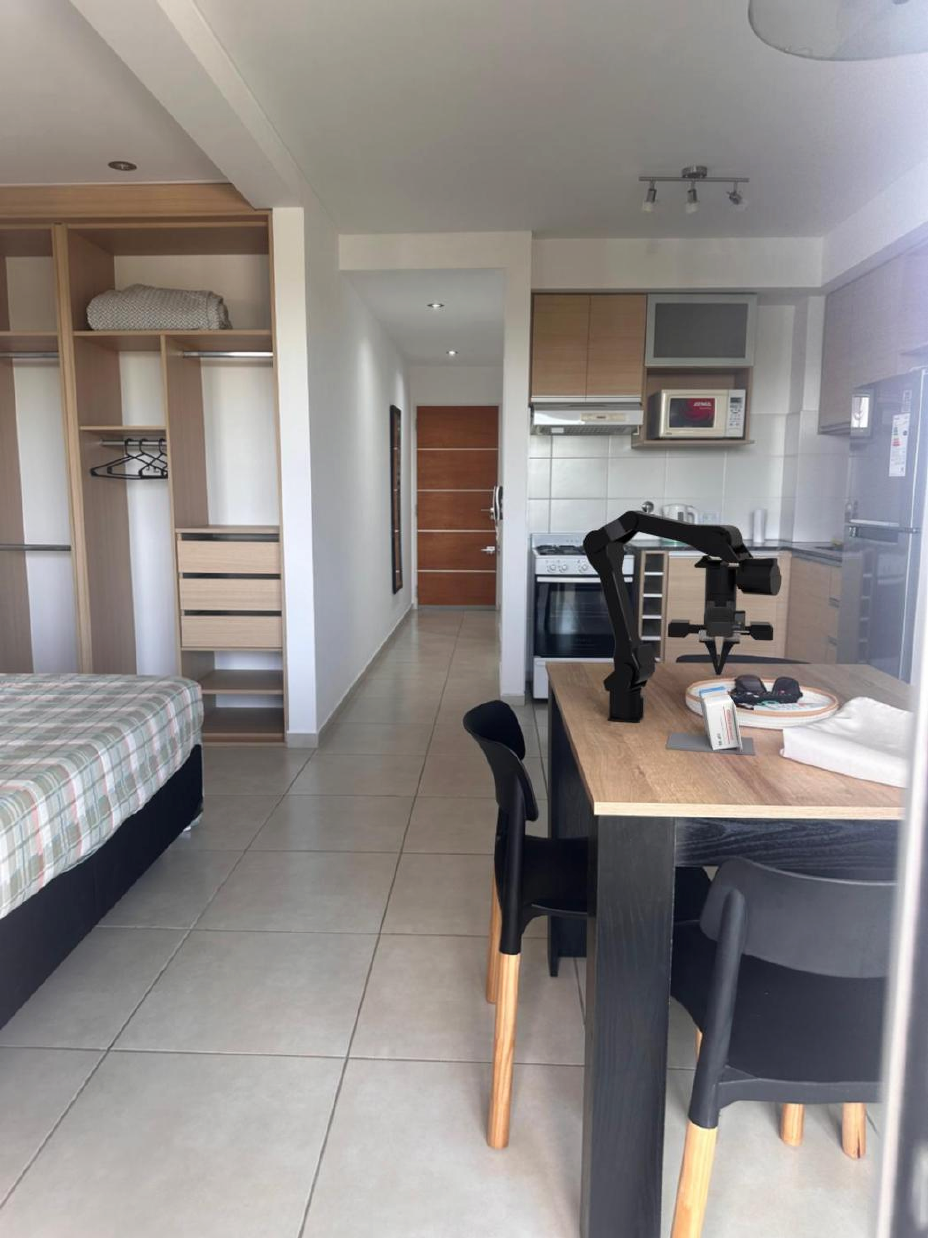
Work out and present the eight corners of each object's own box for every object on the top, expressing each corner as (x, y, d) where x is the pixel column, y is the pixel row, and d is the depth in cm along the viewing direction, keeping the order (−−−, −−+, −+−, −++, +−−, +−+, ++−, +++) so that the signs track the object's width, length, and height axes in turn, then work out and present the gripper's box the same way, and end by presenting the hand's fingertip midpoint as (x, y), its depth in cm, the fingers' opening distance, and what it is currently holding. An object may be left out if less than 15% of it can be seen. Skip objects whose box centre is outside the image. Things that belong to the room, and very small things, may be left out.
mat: (666, 749, 149) (666, 746, 149) (669, 734, 159) (669, 732, 159) (754, 755, 145) (754, 753, 145) (752, 740, 155) (752, 737, 154)
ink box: (697, 689, 158) (706, 708, 143) (724, 685, 157) (735, 703, 142) (705, 733, 159) (714, 755, 144) (731, 729, 158) (743, 751, 143)
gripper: (666, 596, 150) (665, 681, 152) (776, 598, 145) (773, 686, 147) (670, 590, 161) (668, 669, 163) (772, 592, 155) (769, 674, 157)
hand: (718, 674), depth 157 cm, fingers closed
